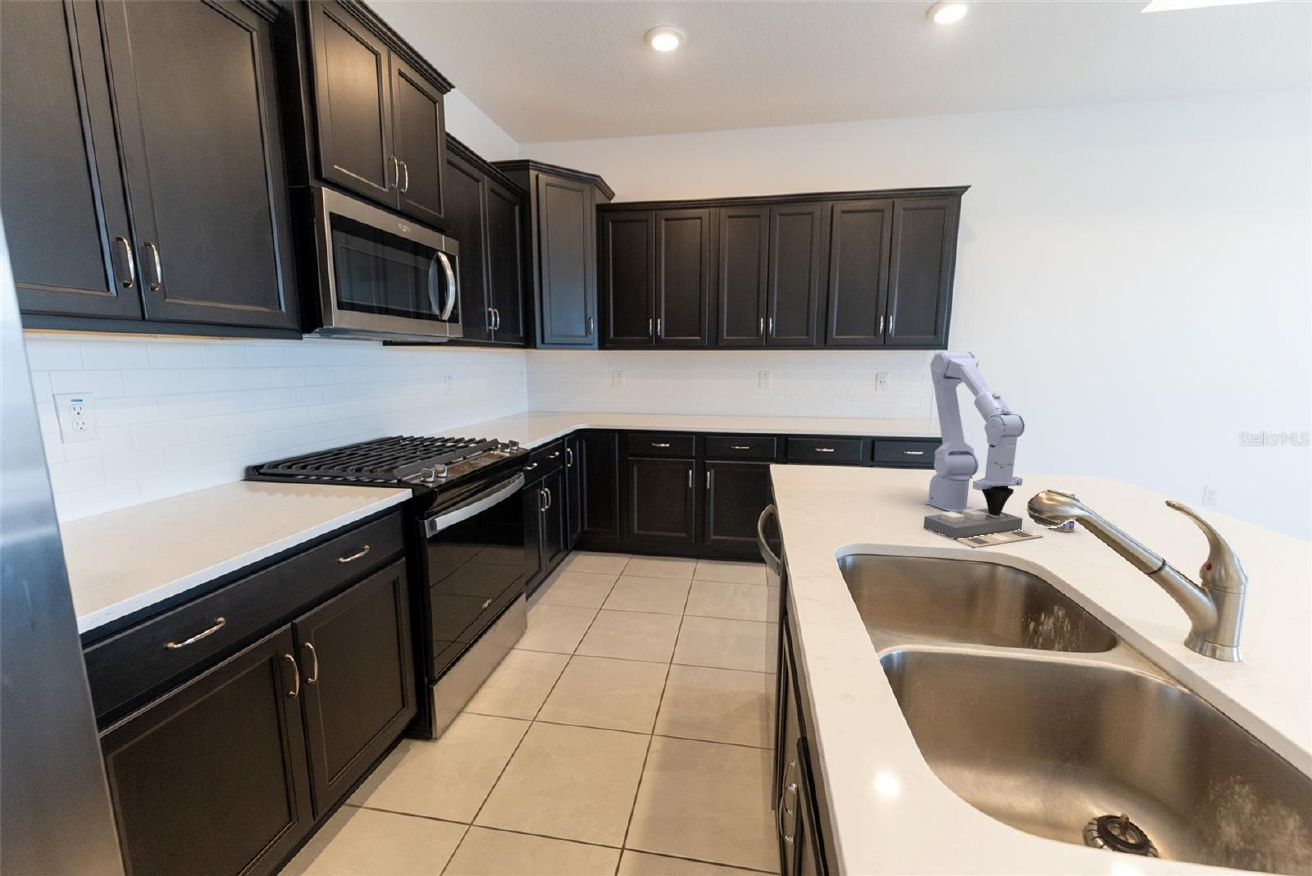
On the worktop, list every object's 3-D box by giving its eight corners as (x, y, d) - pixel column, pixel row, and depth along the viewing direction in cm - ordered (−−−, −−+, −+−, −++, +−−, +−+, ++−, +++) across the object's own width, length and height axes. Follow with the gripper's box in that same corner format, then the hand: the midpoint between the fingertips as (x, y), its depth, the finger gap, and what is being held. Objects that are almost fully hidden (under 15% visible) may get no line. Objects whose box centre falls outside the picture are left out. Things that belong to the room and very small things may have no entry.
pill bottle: (1064, 525, 134) (1069, 488, 132) (1078, 533, 129) (1084, 494, 127) (1041, 524, 134) (1046, 488, 133) (1055, 532, 129) (1060, 494, 127)
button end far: (981, 524, 135) (982, 513, 134) (991, 522, 136) (992, 511, 135) (994, 528, 131) (995, 517, 131) (1004, 527, 132) (1005, 515, 132)
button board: (923, 527, 132) (924, 516, 131) (988, 518, 139) (989, 508, 138) (954, 540, 124) (955, 527, 123) (1021, 529, 131) (1022, 518, 130)
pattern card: (956, 540, 123) (956, 539, 123) (1023, 530, 130) (1023, 529, 130) (974, 548, 118) (974, 546, 118) (1043, 537, 126) (1043, 535, 126)
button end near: (939, 524, 130) (940, 512, 129) (950, 523, 131) (952, 511, 130) (952, 529, 126) (953, 517, 126) (963, 527, 128) (964, 515, 127)
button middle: (961, 521, 132) (962, 510, 132) (971, 520, 133) (973, 508, 133) (973, 526, 129) (975, 514, 128) (984, 524, 130) (986, 513, 129)
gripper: (993, 467, 125) (987, 522, 127) (1036, 463, 129) (1030, 516, 132) (967, 461, 131) (962, 514, 133) (1009, 458, 136) (1003, 508, 138)
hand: (994, 514), depth 133 cm, fingers closed, pressing on button end far
